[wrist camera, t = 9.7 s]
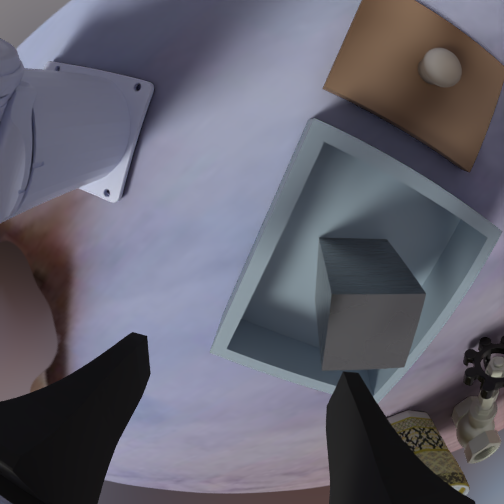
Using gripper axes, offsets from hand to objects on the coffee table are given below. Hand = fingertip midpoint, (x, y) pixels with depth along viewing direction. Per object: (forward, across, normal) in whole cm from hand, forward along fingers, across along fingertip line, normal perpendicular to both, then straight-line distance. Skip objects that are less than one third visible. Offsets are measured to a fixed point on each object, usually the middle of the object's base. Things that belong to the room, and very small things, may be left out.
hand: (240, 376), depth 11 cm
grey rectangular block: (+9, -5, -1) cm, 11 cm away
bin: (+10, -5, -1) cm, 11 cm away
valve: (+10, -22, +9) cm, 26 cm away
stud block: (+10, -8, -14) cm, 18 cm away
